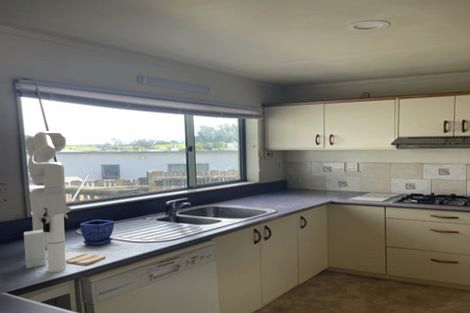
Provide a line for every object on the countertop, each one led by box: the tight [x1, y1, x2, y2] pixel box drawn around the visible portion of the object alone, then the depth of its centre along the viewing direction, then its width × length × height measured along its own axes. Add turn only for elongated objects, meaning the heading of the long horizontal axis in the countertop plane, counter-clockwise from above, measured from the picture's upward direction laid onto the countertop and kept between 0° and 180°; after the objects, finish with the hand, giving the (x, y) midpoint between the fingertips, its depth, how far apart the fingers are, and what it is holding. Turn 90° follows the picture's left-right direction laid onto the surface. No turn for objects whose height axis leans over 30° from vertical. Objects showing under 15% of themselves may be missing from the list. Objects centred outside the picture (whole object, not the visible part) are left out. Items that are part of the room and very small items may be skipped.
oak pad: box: [66, 253, 106, 266], centre depth 194 cm, size 12×12×1 cm
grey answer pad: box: [46, 250, 85, 263], centre depth 199 cm, size 12×12×1 cm
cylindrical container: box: [46, 213, 67, 273], centre depth 181 cm, size 7×7×25 cm
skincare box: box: [23, 230, 47, 269], centre depth 188 cm, size 8×7×16 cm
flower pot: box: [79, 219, 115, 247], centre depth 225 cm, size 13×13×12 cm
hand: (55, 229), depth 180 cm, fingers open, 9 cm apart
